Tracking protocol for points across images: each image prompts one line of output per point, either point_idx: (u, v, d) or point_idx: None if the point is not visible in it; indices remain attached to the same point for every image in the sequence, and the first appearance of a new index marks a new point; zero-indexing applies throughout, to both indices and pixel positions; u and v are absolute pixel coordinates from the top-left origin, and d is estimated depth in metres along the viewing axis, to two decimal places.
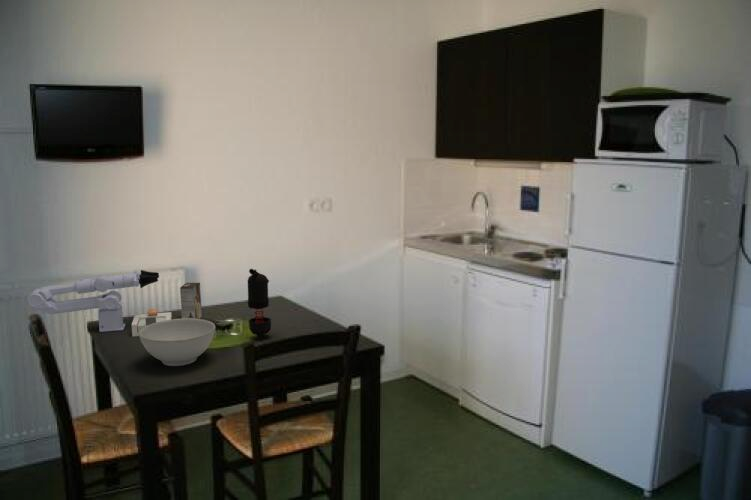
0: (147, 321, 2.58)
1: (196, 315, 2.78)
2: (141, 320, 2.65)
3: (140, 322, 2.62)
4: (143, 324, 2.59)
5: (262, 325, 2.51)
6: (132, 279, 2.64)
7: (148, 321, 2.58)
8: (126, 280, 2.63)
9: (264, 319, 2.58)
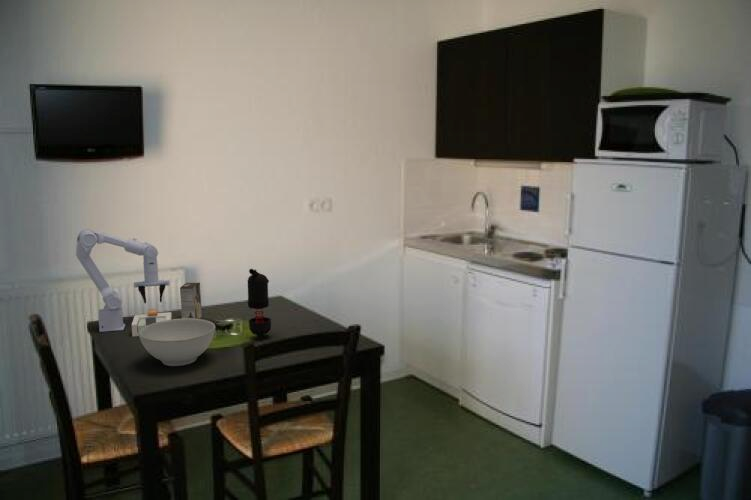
0: (147, 321, 2.58)
1: (196, 315, 2.78)
2: (141, 320, 2.65)
3: (140, 322, 2.62)
4: (143, 324, 2.59)
5: (262, 325, 2.51)
6: None
7: (148, 321, 2.58)
8: None
9: (264, 319, 2.58)
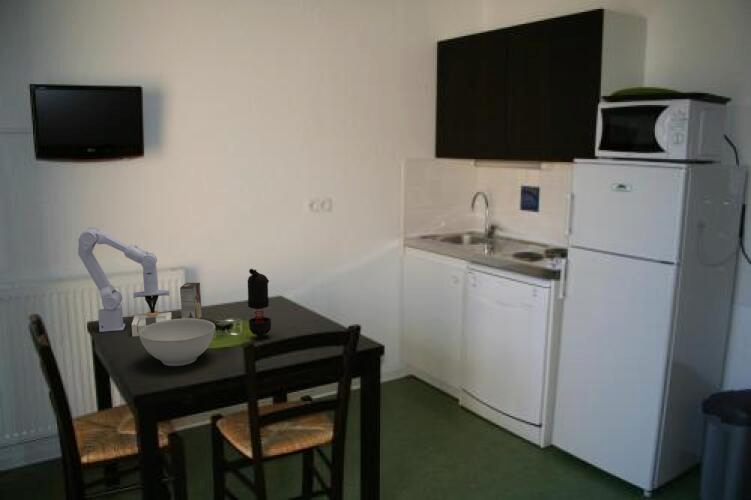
0: (147, 321, 2.58)
1: (196, 315, 2.78)
2: (141, 320, 2.65)
3: (140, 322, 2.62)
4: (143, 324, 2.59)
5: (262, 325, 2.51)
6: None
7: (148, 321, 2.58)
8: (157, 283, 2.69)
9: (264, 319, 2.58)
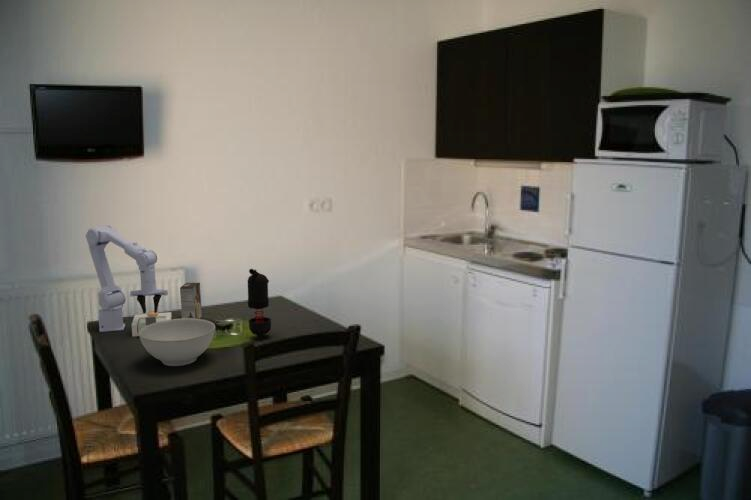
0: (147, 321, 2.58)
1: (196, 315, 2.78)
2: (141, 320, 2.65)
3: (140, 322, 2.62)
4: (143, 324, 2.59)
5: (262, 325, 2.51)
6: (155, 288, 2.58)
7: (148, 321, 2.58)
8: None
9: (264, 319, 2.58)
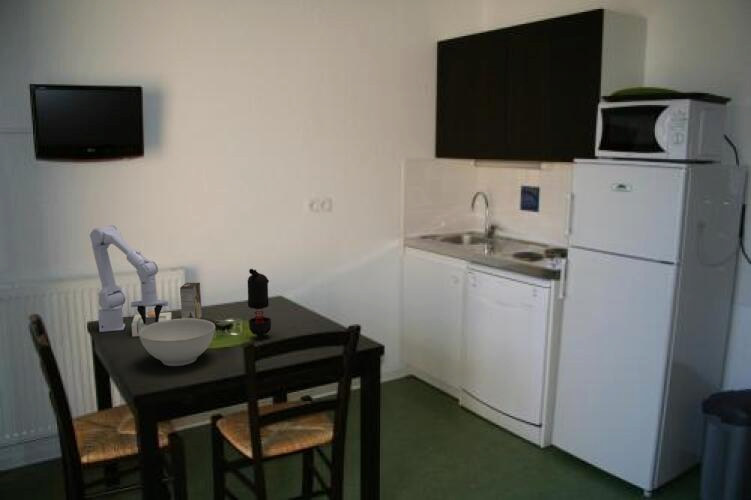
0: (147, 321, 2.58)
1: (196, 315, 2.78)
2: (141, 320, 2.65)
3: (140, 322, 2.62)
4: (143, 324, 2.59)
5: (262, 325, 2.51)
6: (156, 298, 2.59)
7: (148, 321, 2.58)
8: None
9: (264, 319, 2.58)
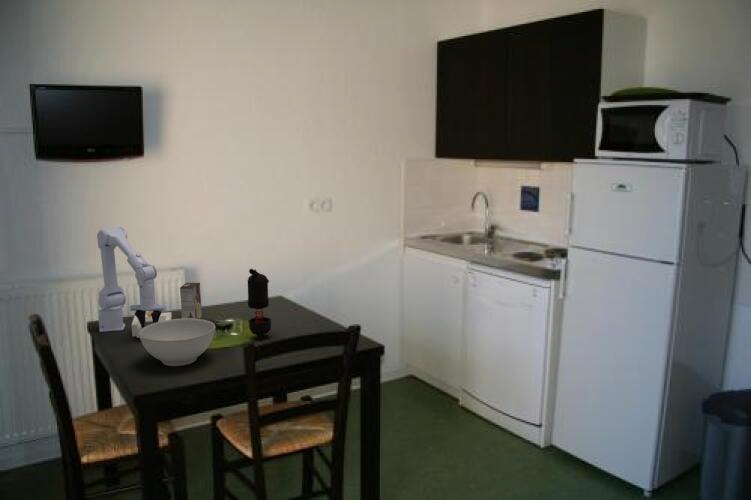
0: None
1: (196, 315, 2.78)
2: None
3: (139, 327, 2.56)
4: None
5: (262, 325, 2.51)
6: None
7: None
8: (154, 298, 2.51)
9: (264, 319, 2.58)
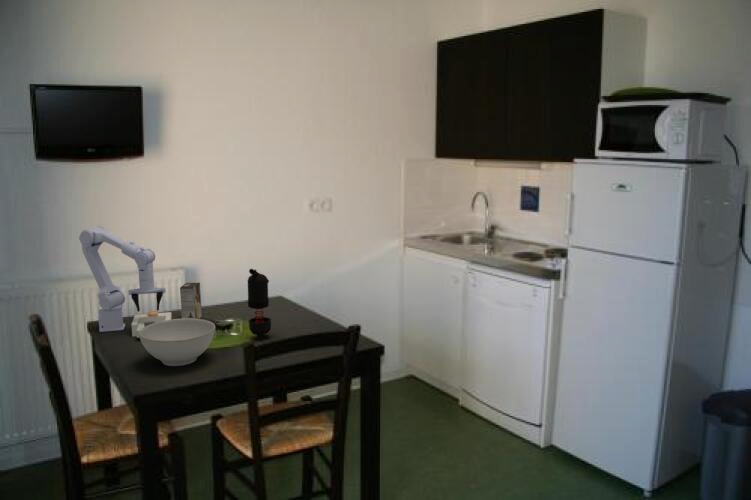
0: None
1: (196, 315, 2.78)
2: (140, 324, 2.59)
3: (139, 327, 2.56)
4: None
5: (262, 325, 2.51)
6: None
7: None
8: None
9: (264, 319, 2.58)
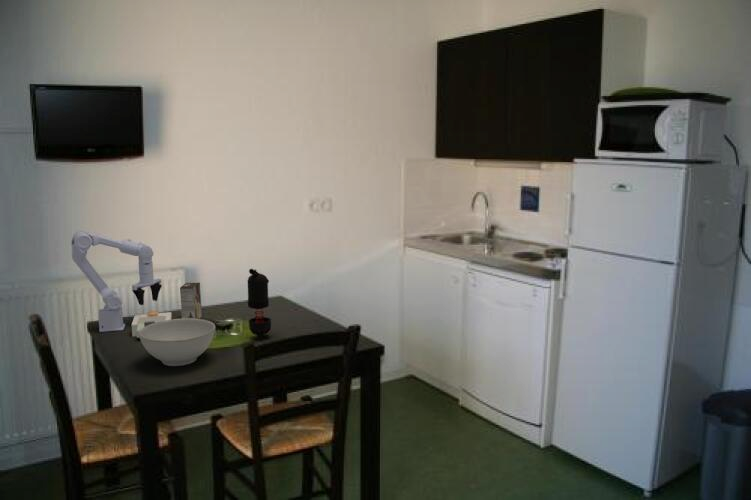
0: None
1: (196, 315, 2.78)
2: (140, 324, 2.59)
3: (139, 327, 2.56)
4: None
5: (262, 325, 2.51)
6: None
7: None
8: None
9: (264, 319, 2.58)
